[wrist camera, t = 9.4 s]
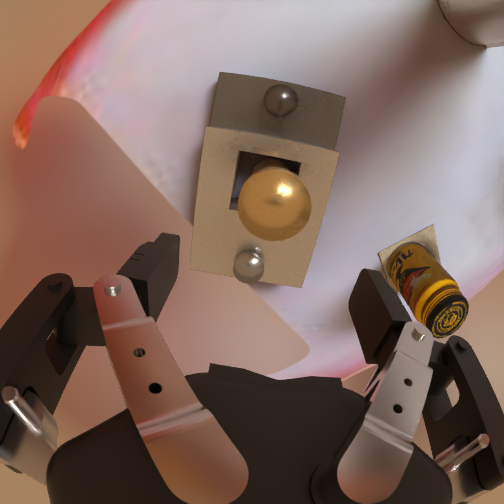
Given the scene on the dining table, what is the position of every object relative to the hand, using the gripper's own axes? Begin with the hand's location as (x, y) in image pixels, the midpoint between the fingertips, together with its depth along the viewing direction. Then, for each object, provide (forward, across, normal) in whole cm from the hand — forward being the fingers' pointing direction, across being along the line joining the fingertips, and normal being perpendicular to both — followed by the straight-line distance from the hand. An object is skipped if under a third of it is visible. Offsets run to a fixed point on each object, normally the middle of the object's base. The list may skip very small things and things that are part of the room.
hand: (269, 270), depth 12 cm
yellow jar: (+19, -21, +6) cm, 29 cm away
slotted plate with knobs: (+18, 0, 0) cm, 19 cm away
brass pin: (+18, 0, 0) cm, 19 cm away
